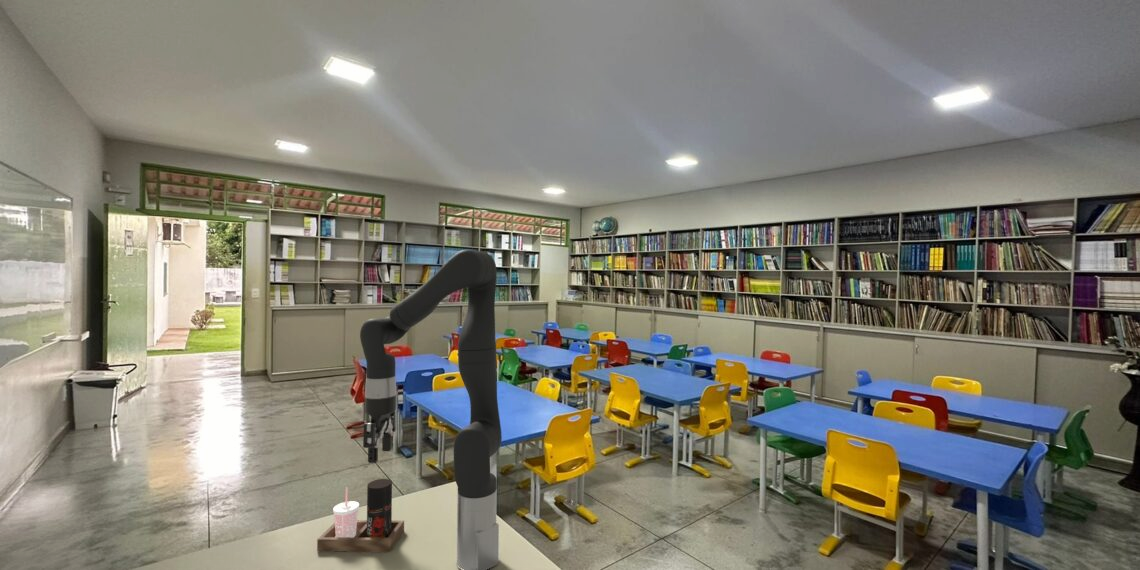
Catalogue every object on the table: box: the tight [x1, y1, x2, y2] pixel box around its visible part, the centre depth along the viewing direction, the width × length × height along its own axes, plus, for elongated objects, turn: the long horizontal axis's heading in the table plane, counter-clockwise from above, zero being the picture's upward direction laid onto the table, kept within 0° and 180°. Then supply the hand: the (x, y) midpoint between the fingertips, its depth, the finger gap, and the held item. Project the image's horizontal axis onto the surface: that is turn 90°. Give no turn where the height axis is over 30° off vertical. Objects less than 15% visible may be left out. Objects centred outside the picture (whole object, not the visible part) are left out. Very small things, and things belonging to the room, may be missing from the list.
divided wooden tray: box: [316, 519, 405, 553], centre depth 117 cm, size 18×10×3 cm, turn 90°
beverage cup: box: [332, 486, 360, 537], centre depth 117 cm, size 6×6×14 cm
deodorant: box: [366, 478, 393, 538], centre depth 117 cm, size 6×6×15 cm
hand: (380, 456), depth 118 cm, fingers open, 8 cm apart
